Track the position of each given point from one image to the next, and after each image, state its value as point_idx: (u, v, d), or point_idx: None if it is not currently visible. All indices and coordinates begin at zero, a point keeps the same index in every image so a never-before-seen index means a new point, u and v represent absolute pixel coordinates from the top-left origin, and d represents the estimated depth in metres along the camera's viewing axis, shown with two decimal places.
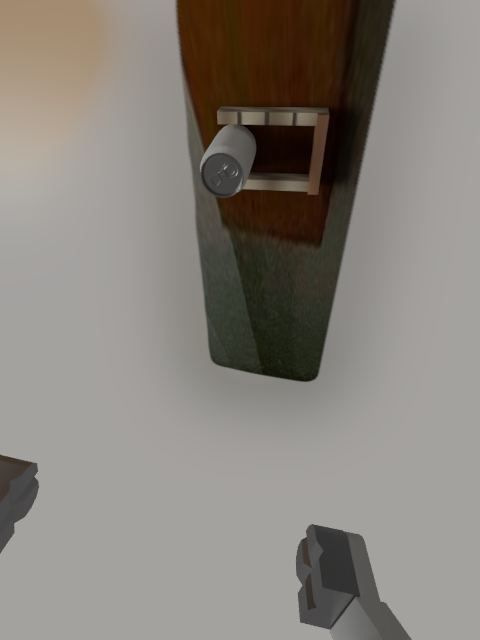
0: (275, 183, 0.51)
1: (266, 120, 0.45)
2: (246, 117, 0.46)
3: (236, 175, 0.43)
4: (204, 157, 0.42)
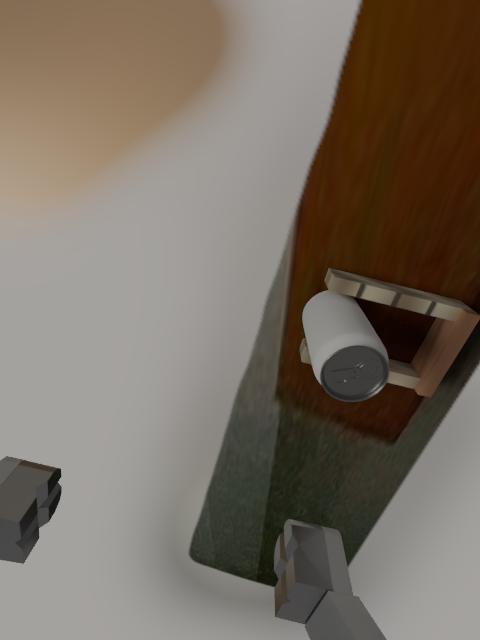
0: None
1: (395, 301, 0.34)
2: (370, 292, 0.34)
3: (375, 377, 0.28)
4: (333, 343, 0.28)
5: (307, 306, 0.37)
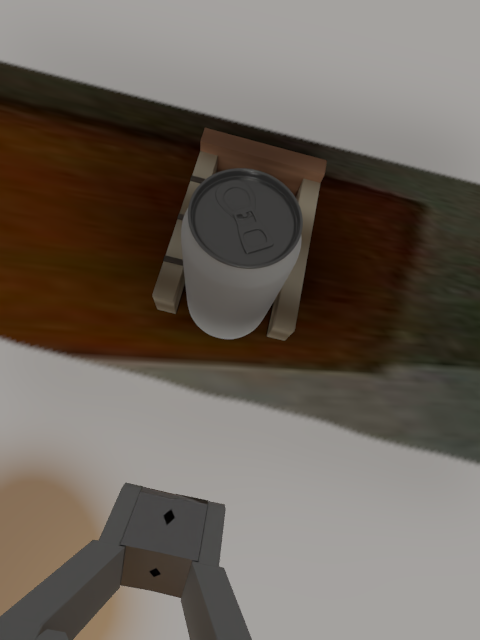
0: None
1: None
2: (176, 248, 0.25)
3: (252, 188, 0.17)
4: (196, 257, 0.16)
5: (208, 331, 0.25)
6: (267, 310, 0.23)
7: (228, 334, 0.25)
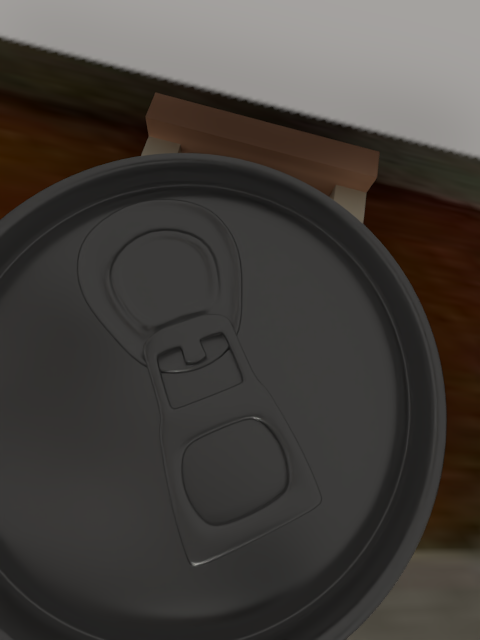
0: None
1: None
2: None
3: (228, 230, 0.04)
4: None
5: None
6: None
7: None
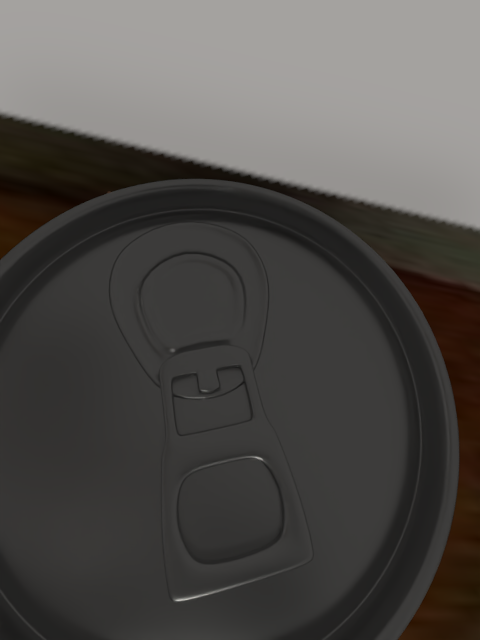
0: None
1: None
2: None
3: (262, 263, 0.04)
4: None
5: None
6: None
7: None
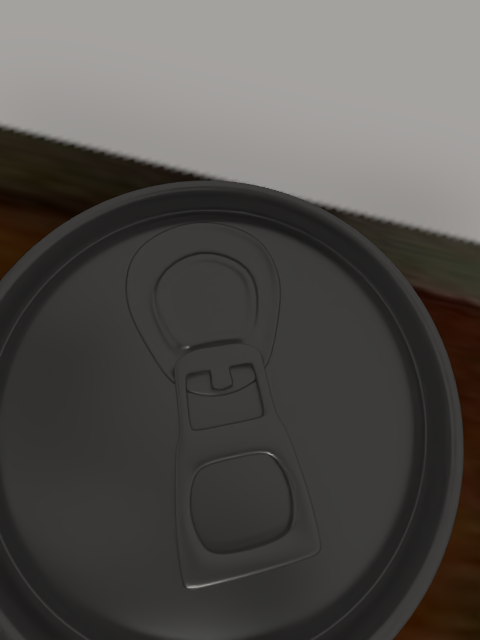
0: None
1: None
2: None
3: (274, 263, 0.05)
4: None
5: None
6: None
7: None
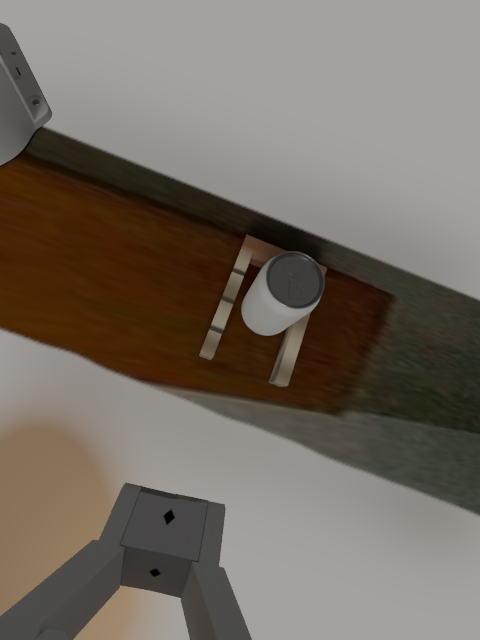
0: None
1: (229, 300, 0.38)
2: (218, 321, 0.38)
3: (303, 264, 0.32)
4: (263, 291, 0.31)
5: (249, 326, 0.40)
6: None
7: (261, 331, 0.40)
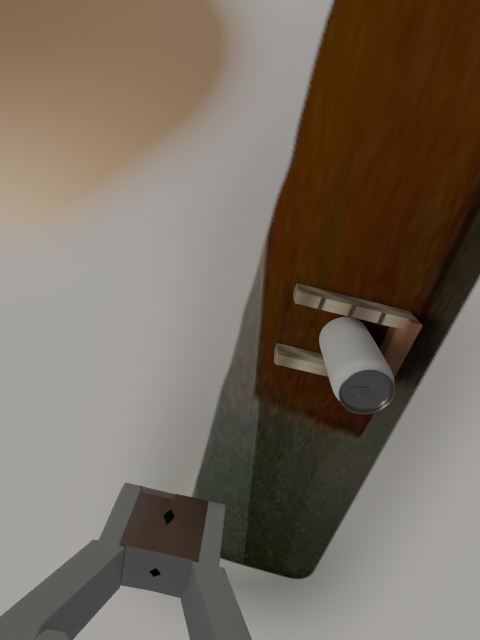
0: None
1: (351, 312, 0.40)
2: (329, 304, 0.40)
3: (381, 397, 0.35)
4: (354, 365, 0.34)
5: (327, 327, 0.43)
6: None
7: (321, 338, 0.43)
